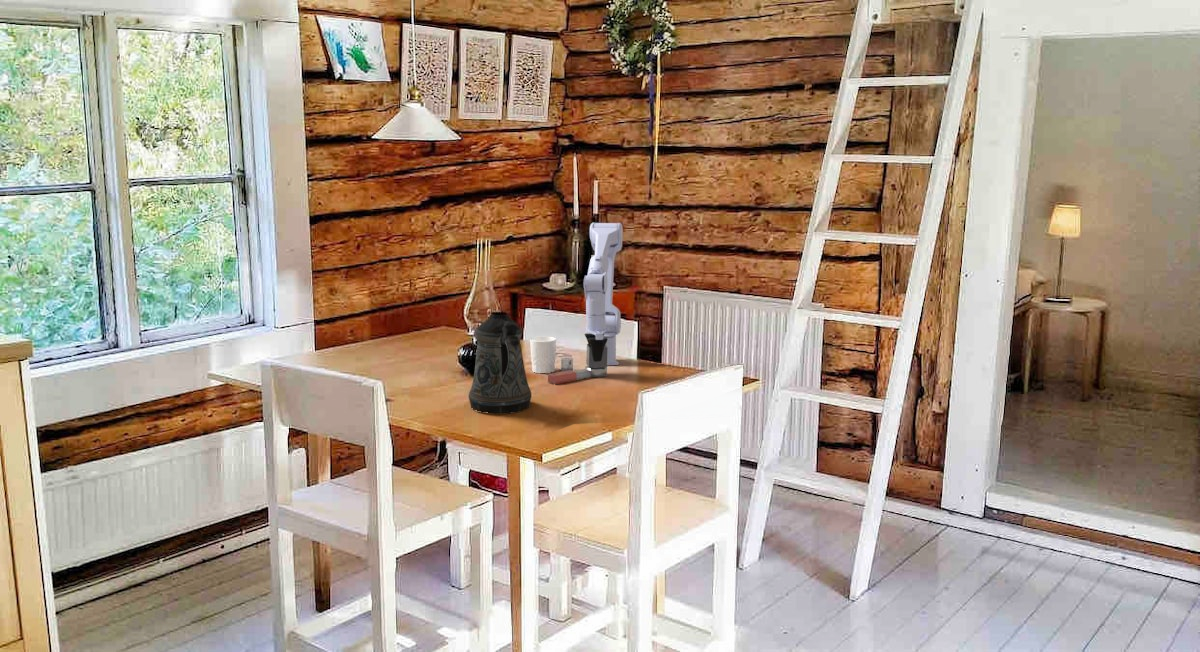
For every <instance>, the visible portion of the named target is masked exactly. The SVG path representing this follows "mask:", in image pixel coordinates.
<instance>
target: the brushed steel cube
mask: <svg viewBox="0 0 1200 652" xmlns="http://www.w3.org/2000/svg"><path fill="white" fill-rule="evenodd" d="M585 358H586V360H585V361H586V366H588V367H589V368H607V369H608V365H607V346H606V345H605V347H604V350H603V355H602V360H601V361H598V362H594V360H593V355H592V349H591V345H590V344H588V343H587V344H586V357H585Z"/></svg>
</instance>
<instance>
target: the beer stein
mask: <svg viewBox="0 0 1200 652" xmlns="http://www.w3.org/2000/svg"><path fill="white" fill-rule="evenodd" d="M522 334H523V328H521V326H520V325H519V324H518V323H516V322H515V321H514V320H513V319H512V318H511V317H509V314H508V312H505V311H495V312H490V315H489V317H488V318H487V319H486V320H485V321H483V322H482V323H481V324H479V325H478V326H477V328H476V329H475V330H474V336H475V338H476V340H477V347H476V354H475V355H476V356H475V363H474V364H475V365H474V373H473V379H472V384H471V387H470V389H469V390H470V391H469V392H468V400H469V404H470V408H473V409H475V410H477V411H481V412H488V413H507V414H512V413H511V412H515V413H519V412H518V411H520V412H523V411H525V410H524V409H526V410H527V409H529V406H530V407H531V400H532V391H531V388H530V386H529V382H528V378H527V376H526V375H527V374H526V369H525V363H524V357H523V352H522V351H523V350H522V344H521V338H522ZM522 410H523V411H522Z"/></svg>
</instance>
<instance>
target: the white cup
mask: <svg viewBox="0 0 1200 652" xmlns="http://www.w3.org/2000/svg"><path fill="white" fill-rule="evenodd" d="M529 344H530V345H529V346H530V347H529V348H530V360H531V369H532V370H531V371H532V372H533V373H534V372H535V374H540V373H546V374H552V373H555V370H556V364H555V363H556V355H557V354H556V352H557V348H556V347H557V339H556V338H555V337H553V336H534V337H532V338H530V339H529ZM551 372H552V373H551Z"/></svg>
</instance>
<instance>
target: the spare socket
mask: <svg viewBox="0 0 1200 652" xmlns="http://www.w3.org/2000/svg"><path fill="white" fill-rule="evenodd" d="M560 362H561V363H560V370H561V371H560V372H563V371H569V370H571V371H574V359H573V358H572V357H562V358H561V359H560Z"/></svg>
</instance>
